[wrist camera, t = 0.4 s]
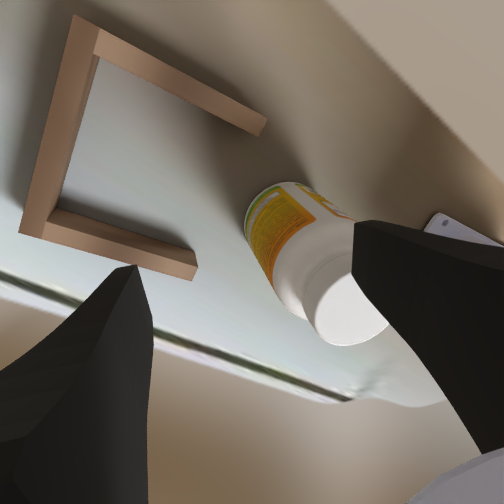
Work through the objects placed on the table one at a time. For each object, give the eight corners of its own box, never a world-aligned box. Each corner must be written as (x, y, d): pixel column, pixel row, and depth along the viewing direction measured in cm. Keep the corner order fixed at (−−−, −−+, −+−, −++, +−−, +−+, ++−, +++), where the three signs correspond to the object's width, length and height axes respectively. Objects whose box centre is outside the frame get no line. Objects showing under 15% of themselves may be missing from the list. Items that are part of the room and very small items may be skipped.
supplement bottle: (244, 262, 23) (295, 371, 14) (239, 184, 20) (298, 262, 12) (319, 251, 24) (407, 345, 15) (323, 175, 21) (431, 239, 13)
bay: (257, 114, 19) (267, 118, 17) (188, 265, 22) (191, 281, 20) (83, 20, 15) (73, 13, 13) (31, 217, 18) (18, 232, 16)
